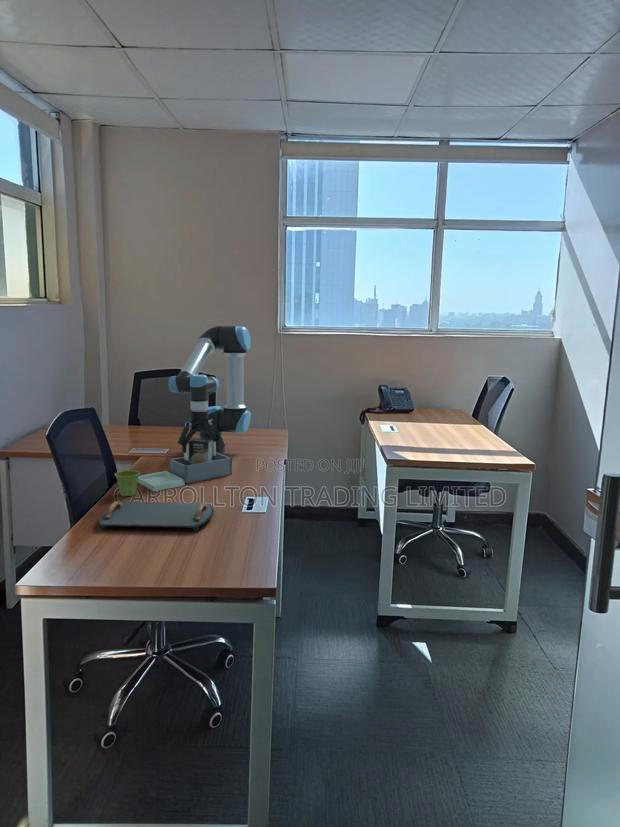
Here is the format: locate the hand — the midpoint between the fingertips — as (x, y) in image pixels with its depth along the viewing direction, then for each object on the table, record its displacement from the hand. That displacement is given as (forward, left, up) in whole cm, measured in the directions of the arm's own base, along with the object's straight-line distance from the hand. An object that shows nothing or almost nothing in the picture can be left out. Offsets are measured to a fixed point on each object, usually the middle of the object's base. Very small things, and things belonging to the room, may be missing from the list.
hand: (200, 457), depth 252 cm
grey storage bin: (0, 0, -8) cm, 8 cm away
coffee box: (0, 0, -8) cm, 8 cm away
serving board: (+39, +39, -9) cm, 56 cm away
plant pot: (+36, +6, -8) cm, 37 cm away
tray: (+20, +1, -8) cm, 21 cm away
